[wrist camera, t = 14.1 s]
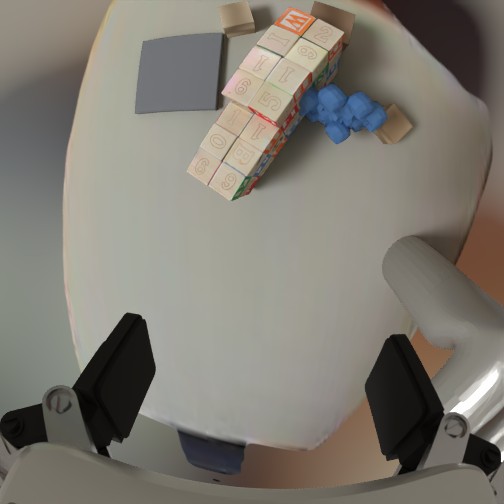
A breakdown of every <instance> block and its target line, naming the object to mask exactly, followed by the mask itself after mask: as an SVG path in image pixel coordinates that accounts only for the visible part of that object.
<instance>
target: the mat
mask: <svg viewBox="0 0 504 504" xmlns="http://www.w3.org/2000/svg"><path fill="white" fill-rule="evenodd" d="M223 37H224V35H223V33H206V34H193V35H183V36H174V37H167V38H160V39H154V40H148V41H143V45H142V51H141V58H140V65H139V73H138V82H137V93H136V105H135V114H144V113H156V112H171V111H195V110H217V103H218V90H219V78H220V67H221V56H222V46H223Z"/></svg>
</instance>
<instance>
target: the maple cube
mask: <svg viewBox="0 0 504 504" xmlns="http://www.w3.org/2000/svg"><path fill="white" fill-rule="evenodd" d="M218 10H219V14H220V18H221V21H222V25H223V29H224V31H225V33H226V35H227V38H232V37H236V36H241V35H246V34H251V33H256V31H255V24H254V20H253V17H252V13H251V10H250V7H249V4H248V1H243V2H238V3H233V4H228V5H224V6H220V7H218Z"/></svg>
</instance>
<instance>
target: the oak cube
mask: <svg viewBox="0 0 504 504" xmlns="http://www.w3.org/2000/svg"><path fill="white" fill-rule="evenodd" d="M383 108H384V110H385V112H386V113H387V120H386V121H385V122H384V123H383V125H382V126H381V127H380V128H379V129H377V130H375V131H373V132H374V133H375V134H376V135H377V136H378V137H379V139H380V140H381V141H382V142H383V144H396V143H397V142H398V141H399V140H400V139H401V138H402V137H403V136H404V135H405V134H406V133H407V132H408V131H409V130H410V129H411V128H412V127H413V126H412V125H411V124H410V122H409V121H408V120H407V119H406V117H405V116H404V115H403V114H402V112H401V111H400V110H399V109H398V107H397V106H396V105H395V104H390V105H386V106H383Z"/></svg>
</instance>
